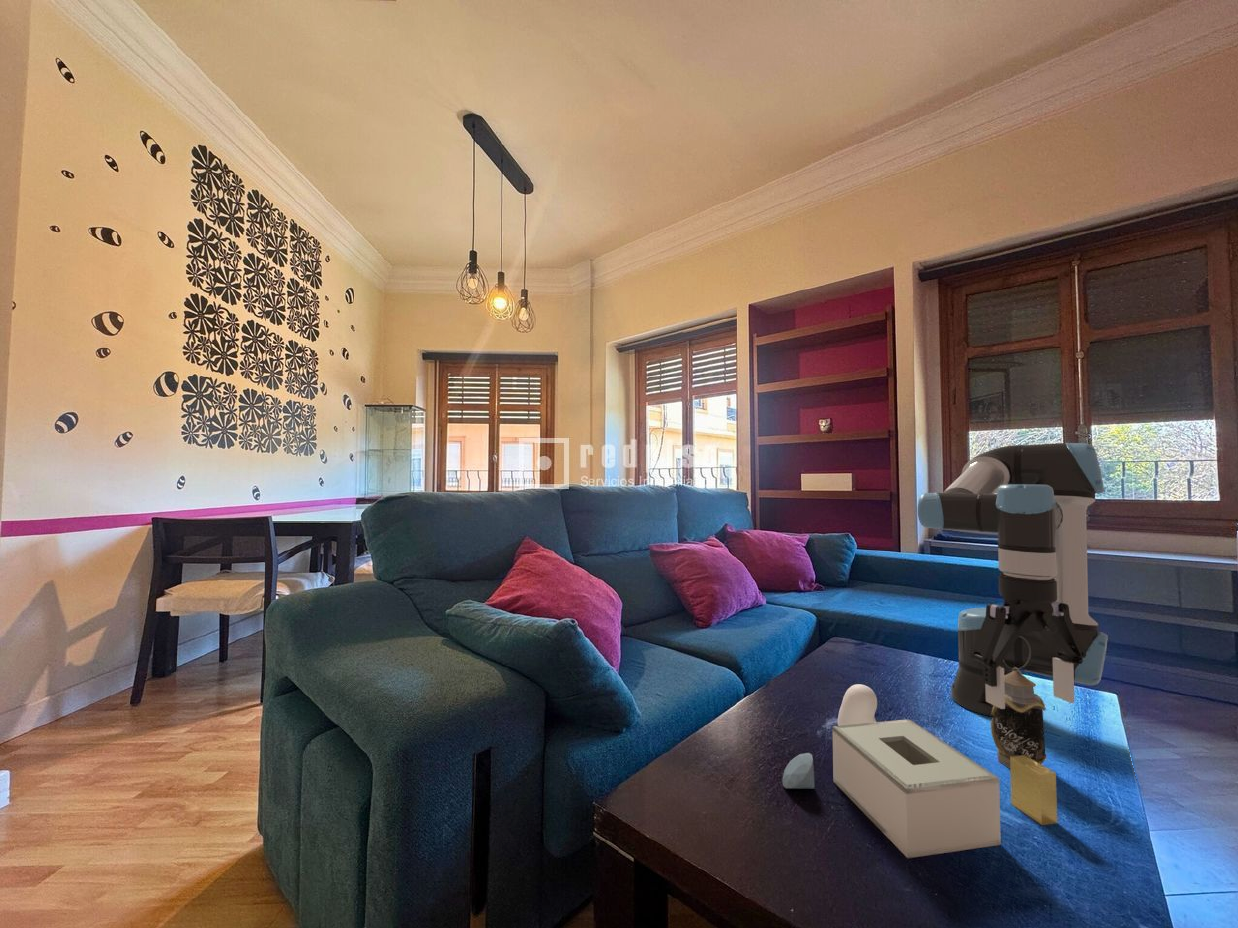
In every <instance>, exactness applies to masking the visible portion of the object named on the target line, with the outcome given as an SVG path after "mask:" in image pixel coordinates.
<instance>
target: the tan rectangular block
mask: <svg viewBox="0 0 1238 928" xmlns="http://www.w3.org/2000/svg"><path fill="white" fill-rule="evenodd" d="M1009 769H1010V799H1011V801H1010V802H1011V806H1013V807H1015V808H1016V809H1017V810H1019V811H1021V812H1022V813H1023V814H1025V815H1026V816H1028V817H1029V818H1031V819H1032V820H1033V821H1035V822H1036V823H1038V824H1040V825H1041V826H1047V825H1055V824H1057V823H1058V798H1057V772H1055V771H1053V770H1051V768H1048V767H1047V766H1045V765H1044V764H1040V763H1038V762H1036V761H1034V760H1033V759H1031V758H1029V757H1027V756H1026V755H1022V756H1013V757H1010V768H1009Z"/></svg>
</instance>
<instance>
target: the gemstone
mask: <svg viewBox="0 0 1238 928" xmlns="http://www.w3.org/2000/svg"><path fill="white" fill-rule="evenodd" d="M814 768H815V767H814V757H813V755H812V753H810V752H805V753H799V754H798V755H796V756H795V757H794V758H792V759H791V760H790V761H789V762H788V763H787V765H786V767H785V768H784V770H783V775H782V787H784V788H785V789H813V790H814V789H815V771H814Z"/></svg>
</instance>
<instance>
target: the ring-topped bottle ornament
mask: <svg viewBox="0 0 1238 928" xmlns="http://www.w3.org/2000/svg"><path fill="white" fill-rule="evenodd" d="M1019 637H1021V638H1023V637H1022V636H1019ZM1023 639H1024V640H1025V641H1026V642H1027V644H1028V647H1029V658H1028V661H1027V662H1026V664H1025V665H1024V666H1022V667H1021V668H1016V667H1015V668H1010V667H1009V666H1007V665H1006V663H1005V661H1004V659H1003V663H1004V664H1005V665H1006V666H1007V667H1008V668H1009V669H1011V670H1012V672H1011V673H1009V674H1007V675H1004V687H1005V709H1000V708H998V707H996V706H994V705H993V709H992V713H991V715H993V717H992V718H991V720H990V733H991V735H992V740H993V742H994V744H995V747H996V748H997V749H996V750H997V752H996V753H997V760H998V761H997V762H998V763H1000V764H1002V765H1003V766H1005V767H1007V768H1008V769H1010V757H1013V756H1022V755H1026V756H1027V757H1029V758H1031V759H1033V760H1034V761H1036V762H1038V763H1040V764H1041V765H1043V763H1044V762H1045V761H1046V759H1047V756H1048V755H1047V754H1046V741H1045V728H1044V727H1045V726H1044V712H1043V711H1046V710H1047V708H1046V706H1045V705H1046V704H1045V702H1044V700H1043V699H1042V697H1040V696H1039V695H1038V694H1036V693H1035V689H1034V687H1036V683H1035V682H1034V681H1032V680H1031V679H1029V678H1027V677H1026V676H1025V675H1024V674H1022V671H1021V670H1020V669H1023V668H1024V667H1025V666H1026V665H1027V664H1028V662H1029V660H1030V657H1031V648H1030V645H1029V643H1028V641H1027V640H1026V639H1025V638H1023ZM1014 670H1018V671H1014Z"/></svg>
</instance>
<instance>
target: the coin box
mask: <svg viewBox="0 0 1238 928" xmlns="http://www.w3.org/2000/svg"><path fill="white" fill-rule="evenodd" d="M832 765H833V766H832V772H833V773H832V774H833V775H832V777H833V778H832V781H833V783H834V784H835V786H837V787H838V788H839V789H840V790H841V791H842V793H844V794H845V795H846V796H847V798H849V799H850V801H852V803H853V804H855V806H857V807H858V809H859V810H860V811H861V812H862V813H863V814H864V815H865V816H866V817H867V818H868V819H869V820H870V821H871V822H872V823H873V824H874V826H876V827H877V828H878V829H879V830H880V831H881V832H882V834H883V835H884V836H885V837H886V838H887V839H888V840H890V842H892V844H894V846H895V847H896V848H897V849H898V850H899V851H900V852H901V853H902V854H903V856H905V857H906V859H912V858H913V859H914V858H918V857H926V856H933V855H939V854H944V853H945V854H947V853H954V852H960V851H966V850H974V849H980V848H988V847H995V846H1000V845H1001V844H1002V843H1001V836H1002V835H1001V803H1000V802H1001V800H1000V796H1001V795H1000V794H1001V793H1000V777H999V776H997V775H995V774H993V773H992V772H991V771H989V770H988V769H986V768H984V767H983V766H981V765H980V764H979V763H977V762H976V761H973V760H972V759H971V758H969V757H968V756H966V755H965V754H963V753H961V752H960V751H958V750H957V749H956V748H954V747H952V746H951V745H949V744H948V743H947V742H945V741H943V740H942V739H940V738H939V737H937V736H936V735H935V734H932V733H931V732H929V731H928V730H927V729H925V728H923V727H922V726H920V725H918V724H917V723H915V722H914V721H913V720H911V719H910V718H909V719H906V718H905V719H897V720H888V721H887V720H886V721H876V722H873V723H862V724H852V725H841V726H838V725H833V726H832Z"/></svg>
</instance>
